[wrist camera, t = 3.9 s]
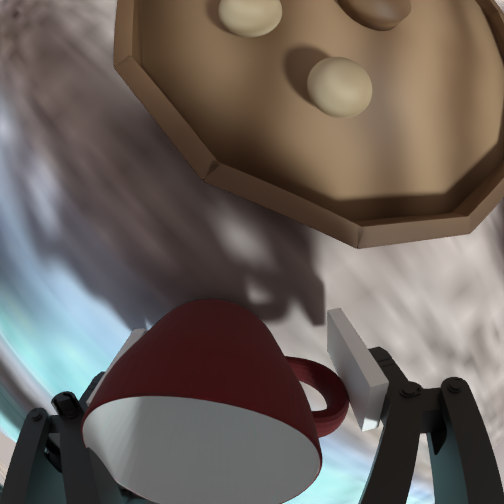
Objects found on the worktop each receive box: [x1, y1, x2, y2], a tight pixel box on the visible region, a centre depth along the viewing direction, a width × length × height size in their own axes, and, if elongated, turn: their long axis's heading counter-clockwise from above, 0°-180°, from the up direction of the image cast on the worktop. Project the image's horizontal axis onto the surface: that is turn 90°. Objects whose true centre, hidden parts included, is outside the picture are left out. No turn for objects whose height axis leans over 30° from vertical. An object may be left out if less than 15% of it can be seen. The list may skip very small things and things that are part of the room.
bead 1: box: [218, 0, 282, 37], centre depth 10 cm, size 3×3×3 cm
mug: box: [81, 299, 349, 504], centre depth 12 cm, size 11×8×10 cm
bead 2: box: [307, 57, 372, 118], centre depth 11 cm, size 3×3×3 cm
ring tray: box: [114, 0, 504, 249], centre depth 10 cm, size 28×28×3 cm
